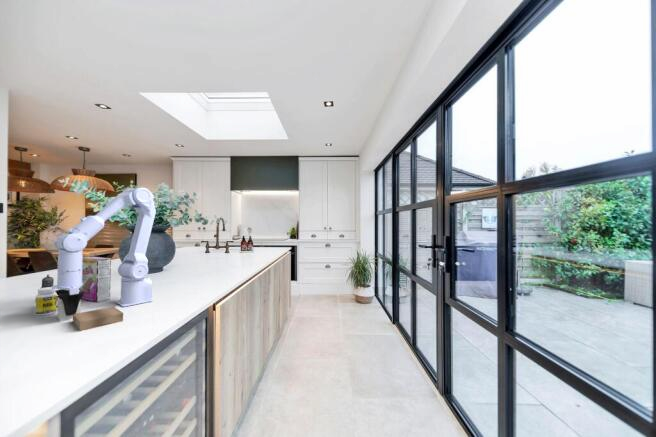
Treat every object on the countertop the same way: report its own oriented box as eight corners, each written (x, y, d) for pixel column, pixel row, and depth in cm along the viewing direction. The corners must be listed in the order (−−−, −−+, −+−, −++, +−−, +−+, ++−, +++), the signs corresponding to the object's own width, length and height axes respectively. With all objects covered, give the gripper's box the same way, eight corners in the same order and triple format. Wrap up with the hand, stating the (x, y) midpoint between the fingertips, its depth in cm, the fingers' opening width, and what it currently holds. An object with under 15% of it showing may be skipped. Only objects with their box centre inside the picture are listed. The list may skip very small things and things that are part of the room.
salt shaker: (31, 309, 92) (32, 275, 92) (53, 304, 97) (54, 272, 97) (39, 312, 90) (40, 276, 90) (62, 306, 95) (63, 273, 95)
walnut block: (113, 315, 89) (113, 306, 89) (122, 322, 83) (123, 312, 83) (72, 324, 81) (73, 314, 81) (80, 332, 75) (80, 322, 75)
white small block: (77, 314, 88) (77, 296, 88) (80, 317, 85) (80, 299, 85) (57, 318, 84) (58, 299, 85) (60, 321, 82) (60, 302, 82)
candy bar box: (77, 299, 104) (78, 257, 104) (92, 296, 109) (93, 256, 109) (96, 302, 100) (97, 259, 100) (110, 299, 105) (111, 258, 105)
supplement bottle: (42, 316, 86) (42, 290, 86) (31, 315, 87) (31, 289, 87) (59, 311, 90) (60, 287, 90) (49, 310, 91) (49, 286, 91)
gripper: (48, 269, 86) (47, 311, 86) (56, 275, 77) (55, 322, 77) (78, 266, 92) (77, 305, 92) (88, 272, 83) (87, 315, 83)
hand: (69, 312), depth 85 cm, fingers open, 5 cm apart
